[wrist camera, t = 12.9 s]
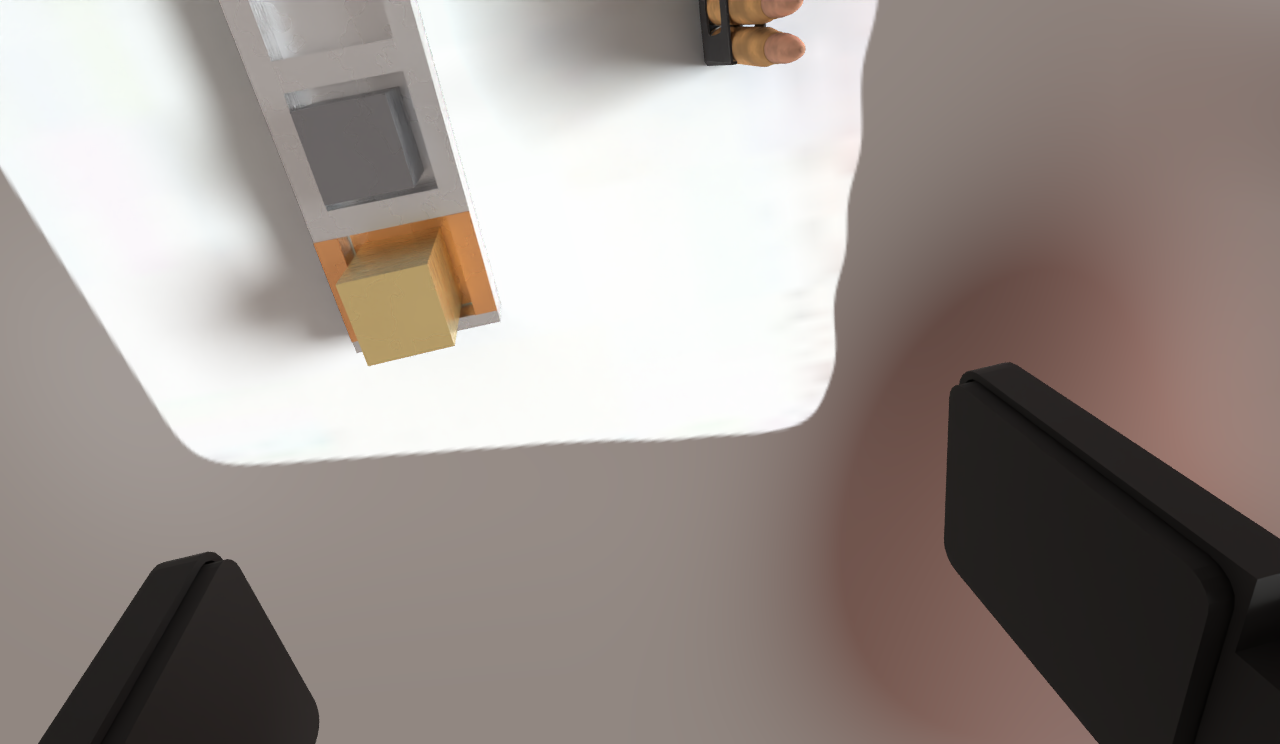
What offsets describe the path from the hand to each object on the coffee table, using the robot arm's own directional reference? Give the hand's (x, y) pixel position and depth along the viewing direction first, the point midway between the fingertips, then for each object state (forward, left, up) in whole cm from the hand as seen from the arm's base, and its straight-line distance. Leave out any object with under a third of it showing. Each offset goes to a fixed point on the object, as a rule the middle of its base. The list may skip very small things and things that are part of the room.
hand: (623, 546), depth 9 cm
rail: (-2, -8, -33) cm, 34 cm away
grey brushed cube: (-2, -8, -32) cm, 33 cm away
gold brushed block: (+5, -8, -32) cm, 34 cm away
